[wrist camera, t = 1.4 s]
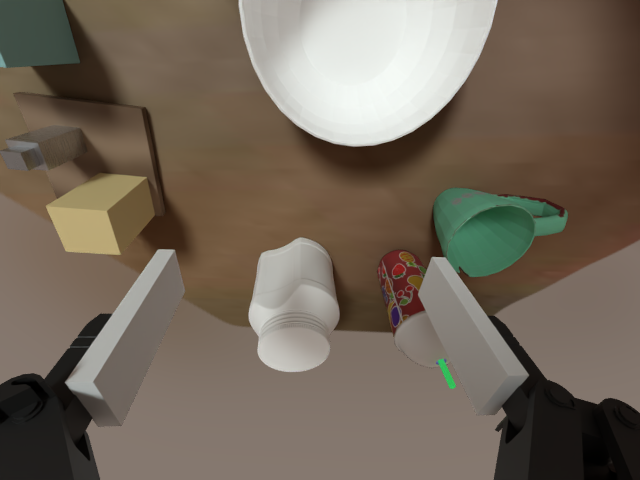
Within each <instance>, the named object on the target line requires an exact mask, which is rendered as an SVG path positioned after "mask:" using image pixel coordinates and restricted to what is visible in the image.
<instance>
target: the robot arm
mask: <svg viewBox="0 0 640 480" xmlns="http://www.w3.org/2000/svg"><path fill="white" fill-rule="evenodd" d="M184 292H185V289H184V285H183V281H182V277H181V273H180V269H179V265H178V261H177V257H176V253H175V250H165V249H158V250H157V252H156V253H155V255H154V256H153V258H152V259H151V260H150V262H149V263H148V265H147V266H146V268H145V269H144V270H143V272H142V273H141V275H140V276H139V278H138V279H137V280H136V282H135V283H134V285H133V286H132V288H131V289H130V290H129V292H128V293H127V295H126V296H125V297H124V299H123V300H122V302H121V303H120V305H119V306H118V307H117V309H116V310H115V312H114V313H113V314H99V315H98V316H97V317H96V318H94V319H93V320H92V321H90V322H89V323H88V324H87V325H86V326H85V327H84V328H83V330H82V331H81V332H80V334H79V335H78V338H76V339H75V340H74V341H73V343H72V344H71V345H70V348H69V349H67V351H66V352H65V353H64V354H63V356H62V357H61V358H60V360H59V361H58V362H57V364H56V365H55V366H54V367H53V369H52V370H51V371H50V373H49V374H48V375H47V377H46V378H45V379H43V378H42V377H41V376H40V375H37V374H34V373H32V374H23V375H20V376H17V377H14V378H11V379H10V380H8V381H6V382H4V383H2V384H1V385H0V480H100V477H99V474H98V470H97V466H96V462H95V459H94V455H93V451H92V447H91V444H90V440H89V436H88V434H87V432H86V431H85V430H86V429H87V427H88V425H89V423H90V421H91V420H92V419H93V421H94V422H95V423H96V425H97V426H98V427H104V426H122V424H123V422H124V420H125V418H126V416H127V413H128V411H129V409H130V407H131V405H132V403H133V401H134V399H135V396H136V394H137V392H138V390H139V388H140V386H141V384H142V382H143V379H144V377H145V375H146V373H147V371H148V369H149V367H150V365H151V362H152V360H153V358H154V356H155V354H156V352H157V350H158V347H159V345H160V343H161V341H162V339H163V337H164V335H165V332H166V330H167V328H168V326H169V324H170V322H171V320H172V318H173V316H174V313H175V311H176V309H177V307H178V305H179V303H180V301H181V299H182V296H183V294H184ZM418 296H419V298H420V300H421V302H422V304H423V306H424V308H425V310H426V312H427V314H428V316H429V318H430V320H431V323H432V325H433V327H434V329H435V331H436V333H437V335H438V337H439V339H440V341H441V343H442V345H443V347H444V349H445V351H446V353H447V355H448V357H449V359H450V361H451V363H452V365H453V367H454V370H455V371H456V373H457V376H458V378H459V380H460V382H461V384H462V386H463V388H464V390H465V392H466V394H467V396H468V398H469V400H470V402H471V404H472V406H473V408H474V410H475V413H476V415H495V414H496V413H497V412H498V411H499V410H500V409H501V407H502V408H503V409H504V411H505V413H506V415H507V416H506V417H505V418H504V419H503V420H502V421H501V422H500V423H499V425H498V426H497V428H496V429H495V430H496V431H498V432H499V431H500V430H501V429H502V434H501V440H500V446H499V452H498V457H497V463H496V469H495V475H494V480H640V413H639V412H638V411H637V410H635V409H634V408H632V407H631V406H629V405H628V404H626V403H624V402H622V401H620V400H617V399H613V398H608V399H604V400H603V401H602V402H600V404H595V403H591V402H588V401H584V400H581V399H577V398H574V397H573V395H572V394H571V393H569V392H568V391H567V390H566V389H565V388H563V387H562V386H560V385H559V384H557V383H555V382H552V381H550V380H547V379H546V378H545V377H544V375H543V374H542V373H541V371H540V370H539V369H538V367H537V366H536V365H535V363H534V362H533V361H532V360H531V358H530V357H529V356H528V354H527V353H526V352H525V350H524V349H523V348H522V346H520V345H519V342H518V341H517V340H516V338H515V337H513V334H512V333H511V332H510V330H509V329H508V328H507V326H506V325H505V324H504V323H503V322H501V321H500V320H499V319H498V318H497V317H495V316H487V315H486V314H485V312H484V311H483V310H482V308H481V307H480V305H479V304H478V302H477V301H476V300H475V298H474V297H473V295H472V294H471V293H470V291H469V290H468V288H467V287H466V286H465V284H464V283H463V281H462V280H461V279H460V277H459V276H458V274H457V273H456V271H455V270H454V269H453V267H452V266H451V264H450V263H449V262H448V260H447V259H446V257H432V258H431V261H430V263H429V266H428V269H427V271H426V274H425V277H424V279H423V282H422V285H421V287H420V290H419V293H418Z"/></svg>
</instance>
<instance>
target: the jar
mask: <svg viewBox="0 0 640 480" xmlns="http://www.w3.org/2000/svg"><path fill="white" fill-rule="evenodd" d="M339 316H340V312H339V305H338V301H337V297H336V291H335V284H334V278H333V267H332V261H331V258H330V255H329V254H328V252H327V251H326V250H325V249H324V248H323V247H322V246H321V245H320V244H318V243H317V242H315V241H312V240H310V239H306V238H301V237H300V238H298V239H295V240H294V241H292V242H291V243H290V244H288V245H286V246H284V247H281V248H279V249H275V250H268V251H266V252H263V253H262V254H261V256H260V258H259V261H258V267H257V276H256V281H255V286H254V292H253V297H252V301H251V304H250V309H249V321H250V324H251V326H252V328H253V329H254V331H255V332H256V333H257V335H258V336H259V340H258V355H259V357H260V359H261V360H262V361H263V362H264V363H265V364H266V365H268V366H269V367H271V368H273V369H276V370H280V371H286V372H299V371H305V370H309V369H312V368H314V367H316V366H318V365H320V364H321V363H322V362H323V361H325V359H326V358H327V357H328V355H329V353H330V340H329V335H330V334H331V333H332V331H333V330H334V329H335V327H336V325H337V323H338V321H339Z"/></svg>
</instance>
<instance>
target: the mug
mask: <svg viewBox="0 0 640 480" xmlns="http://www.w3.org/2000/svg"><path fill="white" fill-rule="evenodd" d="M433 215H434V222H435V228H436V233H437V237H438V239H439V242H440V244H441V248H442V252H443V255H444V257H446V259H447V260H448V262H449V263H450V264H451V266H452V267H453V269H454V270H455V271H456V272H457V273H460V270H459V267H460V269H461V270H462V271H463V272H464V273H465V274H466V275H467V276H469V277H480V276H487V275H490V274H494V273H497V272H499V271H501V270H503V269H505V268H507V267H509V266H511V265H512V264H513V263H514V262H516V261H517V260H518V259H519V258H521V257H522V256H523V254H524V253H525V252H526V251H527V249H528V248H529V247H530V246H531V243H532V241H533V239H534V236H543V235H549V234H554V233H559V232H561V231H563V229H564V227H565V224H566V221H567V218H568V213H567V211H566V210H565V209H564V208H563V207H560V206H558V205H556V204H554V203H552V202H550V201H548V200H546V199H540V198H532V197H525V196H517V195H509V194H501V195H492V194H489V193H485V192H481V191H476V190H472V189H466V188H450V189H448V190H445V191H444V192H442V193H441V194H440V195H439V196H438V197H437V198H436V200H435V202H434V207H433ZM533 215H534V216H540V217H542V218H533Z"/></svg>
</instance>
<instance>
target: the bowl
mask: <svg viewBox="0 0 640 480" xmlns="http://www.w3.org/2000/svg"><path fill="white" fill-rule="evenodd" d="M497 1H498V0H239V10H240V17H241V23H242V30H243V37H244V40H245V43H246V46H247V50H248V53H249V56H250V59H251V62H252V65H253V68H254V70H255V71H256V73H257V75H258V77H259V79H260V81H261V83H262V85H263V87H264V89H265V91H266V92H267V94H268V95H269V96H270V98H271V99H272V100H273V102H274V103H275V104H276V106H277V107H278V108H279V110H280V111H281V112H282V113H284V114H285V115H286V116H287V117H288V118H289V119H290V120H291V121H292V122H293V123H294V124H295V125H297V126H298V127H300V128H301V129H303V130H305V131H306V132H308V133H309V134H311V135H313V136H314V137H317V138H319V139H322V140H325V141H328V142H330V143H333V144H339V145H345V146H352V147H357V146H374V145H378V144H382V143H386V142H389V141H393V140H395V139H398V138H400V137H402V136H404V135H406V134H408V133H411V132H413V131H414V130H416V129H417V128H419V127H420V126H421V125H423V124H424V123H426V122H427V121H429V120H430V119H432V118H433V117H434V116H435V115H436V114H437V113H438V112H439V111H440V110H441V109H442V108H443V107H444V106H445V105H446V104H447V103H448V102H449V101H450V100H451V99H452V98H453V96H454V95H455V94H456V92H457V91H458V90H459V88H460V87H461V86H462V85H463V83H464V82H465V81H466V79H467V77H468V76H469V74H470V72H471V70H472V69H473V67H474V65H475V63H476V61H477V60H478V58H479V56H480V54H481V51H482V49H483V46H484V44H485V41H486V39H487V36H488V34H489V31H490V29H491V26H492V21H493V17H494V13H495V9H496V5H497Z"/></svg>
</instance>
